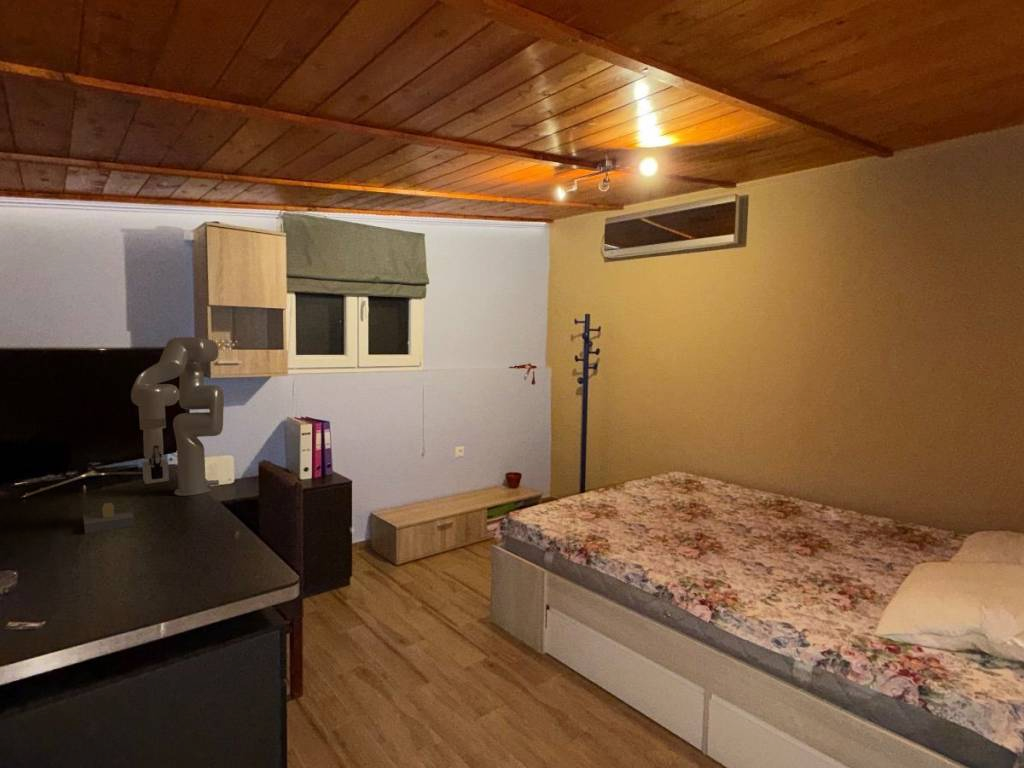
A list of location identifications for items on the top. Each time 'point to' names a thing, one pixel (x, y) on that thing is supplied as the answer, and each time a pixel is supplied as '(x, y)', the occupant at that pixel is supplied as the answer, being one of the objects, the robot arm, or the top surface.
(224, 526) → the top surface
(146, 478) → the grey cube
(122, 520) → the grey block
